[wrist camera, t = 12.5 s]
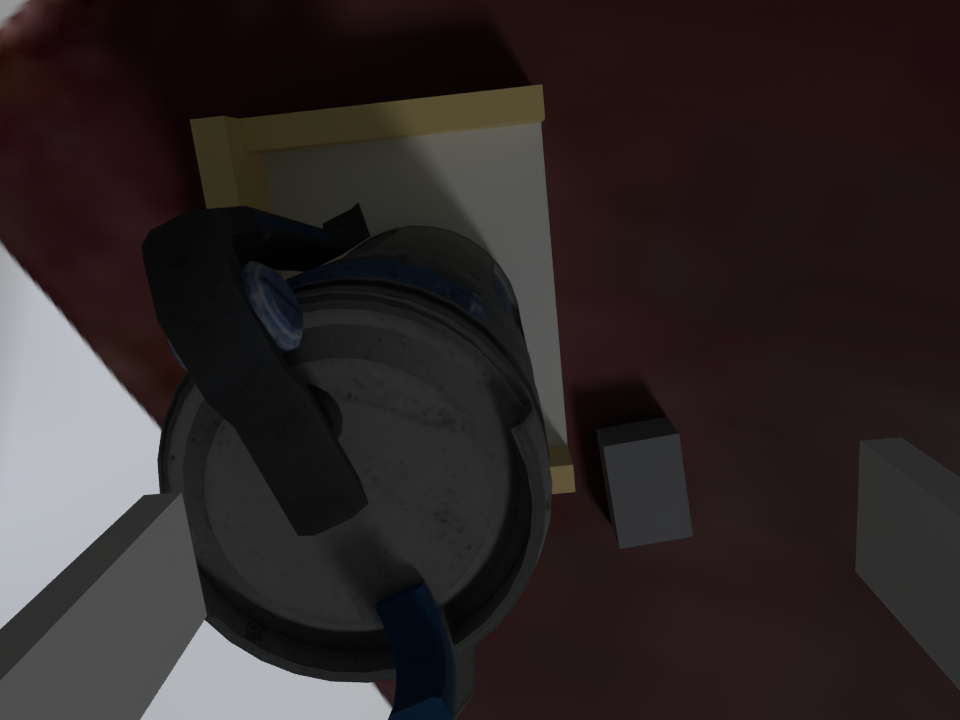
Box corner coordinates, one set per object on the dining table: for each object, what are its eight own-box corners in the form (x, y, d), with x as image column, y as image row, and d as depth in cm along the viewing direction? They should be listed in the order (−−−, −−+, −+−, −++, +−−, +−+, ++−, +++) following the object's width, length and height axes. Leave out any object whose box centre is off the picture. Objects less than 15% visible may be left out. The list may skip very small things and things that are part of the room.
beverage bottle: (445, 144, 38) (368, 99, 13) (556, 375, 41) (659, 681, 16) (268, 235, 39) (-95, 344, 15) (388, 453, 42) (251, 847, 17)
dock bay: (234, 126, 39) (189, 119, 33) (536, 93, 38) (545, 79, 32) (298, 488, 44) (269, 537, 38) (567, 462, 43) (579, 508, 37)
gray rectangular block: (595, 427, 43) (603, 446, 40) (665, 415, 43) (679, 433, 40) (610, 523, 44) (619, 548, 41) (679, 512, 44) (692, 536, 41)
